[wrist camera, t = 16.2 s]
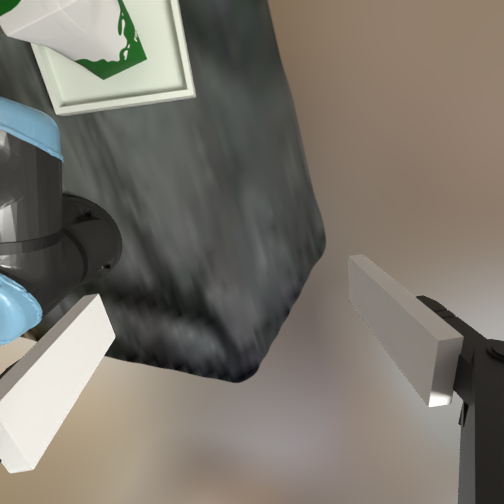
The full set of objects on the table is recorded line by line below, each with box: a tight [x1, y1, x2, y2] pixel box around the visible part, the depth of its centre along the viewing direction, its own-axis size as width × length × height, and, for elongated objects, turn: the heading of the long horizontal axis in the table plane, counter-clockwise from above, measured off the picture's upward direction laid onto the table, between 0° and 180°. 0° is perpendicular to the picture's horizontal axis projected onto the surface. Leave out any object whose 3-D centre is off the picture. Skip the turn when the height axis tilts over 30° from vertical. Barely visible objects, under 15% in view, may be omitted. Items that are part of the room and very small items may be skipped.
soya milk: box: [0, 0, 147, 80], centre depth 28 cm, size 9×9×20 cm
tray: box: [30, 0, 196, 116], centre depth 37 cm, size 20×16×2 cm
